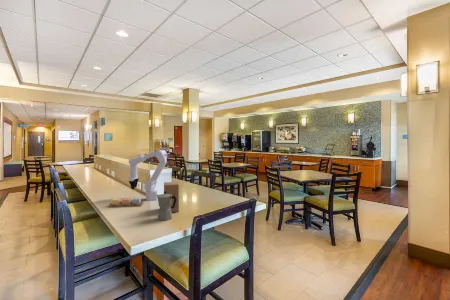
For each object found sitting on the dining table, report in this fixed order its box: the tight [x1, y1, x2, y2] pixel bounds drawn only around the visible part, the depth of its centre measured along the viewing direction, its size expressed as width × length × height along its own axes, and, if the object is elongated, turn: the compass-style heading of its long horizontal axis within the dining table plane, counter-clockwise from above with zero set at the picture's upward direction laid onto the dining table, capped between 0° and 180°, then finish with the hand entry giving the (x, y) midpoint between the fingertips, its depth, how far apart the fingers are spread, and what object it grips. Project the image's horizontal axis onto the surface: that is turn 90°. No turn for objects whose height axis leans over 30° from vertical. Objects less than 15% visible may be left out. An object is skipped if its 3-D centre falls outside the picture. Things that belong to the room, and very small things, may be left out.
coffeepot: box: [156, 190, 177, 222], centre depth 145 cm, size 15×9×18 cm, turn 69°
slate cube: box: [131, 197, 142, 204], centre depth 173 cm, size 5×5×5 cm
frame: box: [108, 200, 144, 209], centre depth 172 cm, size 23×8×3 cm, turn 98°
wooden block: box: [163, 181, 180, 214], centre depth 161 cm, size 10×10×20 cm
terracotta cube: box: [121, 197, 132, 204], centre depth 172 cm, size 5×5×5 cm
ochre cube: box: [111, 197, 122, 205], centre depth 170 cm, size 5×5×5 cm
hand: (134, 188), depth 190 cm, fingers open, 7 cm apart
